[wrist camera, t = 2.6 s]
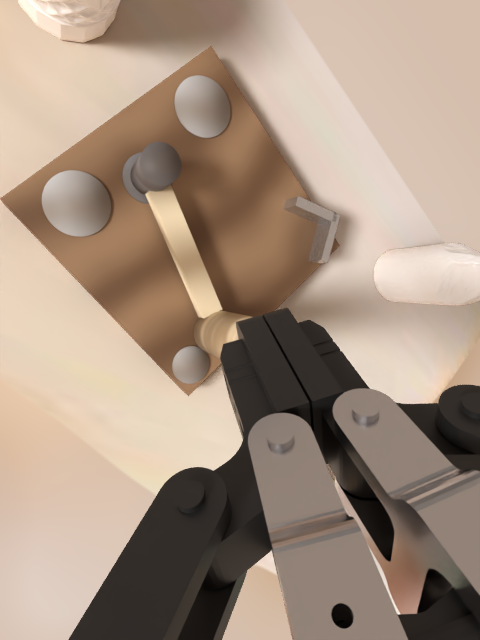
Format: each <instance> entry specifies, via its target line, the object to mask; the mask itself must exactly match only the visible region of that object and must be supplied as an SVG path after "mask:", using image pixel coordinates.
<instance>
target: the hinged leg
mask: <svg viewBox="0 0 480 640" xmlns="http://www.w3.org/2000/svg"><path fill="white" fill-rule="evenodd" d="M181 168H182V164H181V159H180V156H179V154H178V153H177V151H176V150H175V149H174V148H173V147H172V146H171V145H169V144H167V143H164V142H153V143H151V144H149V145H148V146H146V147H145V149H144V150H143V152H142V153H141V155H140V156H139V158H138V159H137V161H136V162H135V163H134V165H133V167H132V169H131V173H130V177H131V182H132V184H133V186H134V187H135V189H136V190H137V191H138V192H140V193H141V194H144V195H146V197H147V200H148V202H149V204H150V207H151V209H152V211H153V214H154V216H155V218H156V220H157V223H158V225H159V227H160V230H161V232H162V234H163V237H164V239H165V241H166V244H167V246H168V248H169V250H170V253H171V255H172V257H173V260H174V262H175V264H176V267H177V269H178V271H179V273H180V276H181V278H182V280H183V283H184V285H185V287H186V290H187V292H188V294H189V296H190V299H191V301H192V303H193V306H194V308H195V310H196V313H197V315H198V317H199V318H198V319H197V321H196V323H195V326H194V339H195V341H196V343H197V345H198V346H199V347H200V348H201V349H202V350H204V351H206V352H208V353H210V354H212V355H214V356H216V357H218V358H220V355H221V351H222V347H223V344H225V343H228V342H232V341H236V340H239V339H238V334H237V329H236V322H237V321H241V320H244V319H248V318H252V317H251V316H246V315H241V314H236V313H231V312H226V311H222V307H221V305H220V302H219V300H218V297H217V295H216V293H215V290H214V288H213V285H212V283H211V280H210V278H209V276H208V273H207V271H206V268H205V266H204V264H203V261H202V259H201V256H200V254H199V252H198V249H197V247H196V244H195V242H194V240H193V237H192V235H191V232H190V230H189V228H188V225H187V223H186V220H185V218H184V215H183V213H182V211H181V208H180V206H179V203H178V201H177V199H176V196H175V194H174V191H173V189H172V187H171V183H173V182H174V181H175V180H176V179H177V178H178V177H179V175H180V172H181Z"/></svg>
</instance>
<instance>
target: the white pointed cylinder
mask: <svg viewBox="0 0 480 640" xmlns="http://www.w3.org/2000/svg"><path fill="white" fill-rule="evenodd" d="M374 283H375V286H376V288H377V290H378V291H379V293H380V294H381V295H382V296H383V297H384V298H385V299H386V300H388V301H392V302H403V303H419V304H436V305H468V304H470V303H474V302H478V301H480V252H478V251H476V250H474V249H471V248H469V247H468V246H465V245H463V244H459V243H442V244H434V245H427V246H419V247H412V248H403V249H394V250H389V251H387V252H385V253H383V254H382V255H381V256H380V258H379V259H378V260H377V263H376V265H375V268H374Z"/></svg>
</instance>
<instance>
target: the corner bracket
mask: <svg viewBox="0 0 480 640" xmlns="http://www.w3.org/2000/svg"><path fill="white" fill-rule="evenodd" d="M283 210H286V211H288V212H290V213H293V214H295V215H297V216H300V217H302V218H304V219H307V220H309V221H311V222H314V223H316V224H318V225H317V229H316V233H315V237H314V240H313V244H312V248H311V252H310V255H309V259H308V261H309V262H312V263H328V260H329V257H330V253H331V249H332V245H333V242H334V238H335V234H336V230H337V227H338V223H339V219H340V214H337V213H335V212H332V211H330V210H328V209H326V208H324V207H321V206H319V205H317V204H315V203H313V202H310V201H308V200H306V199H304V198H302V197H299V196H296V197H294V198H291V199H288V200H285V204H284V207H283Z"/></svg>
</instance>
